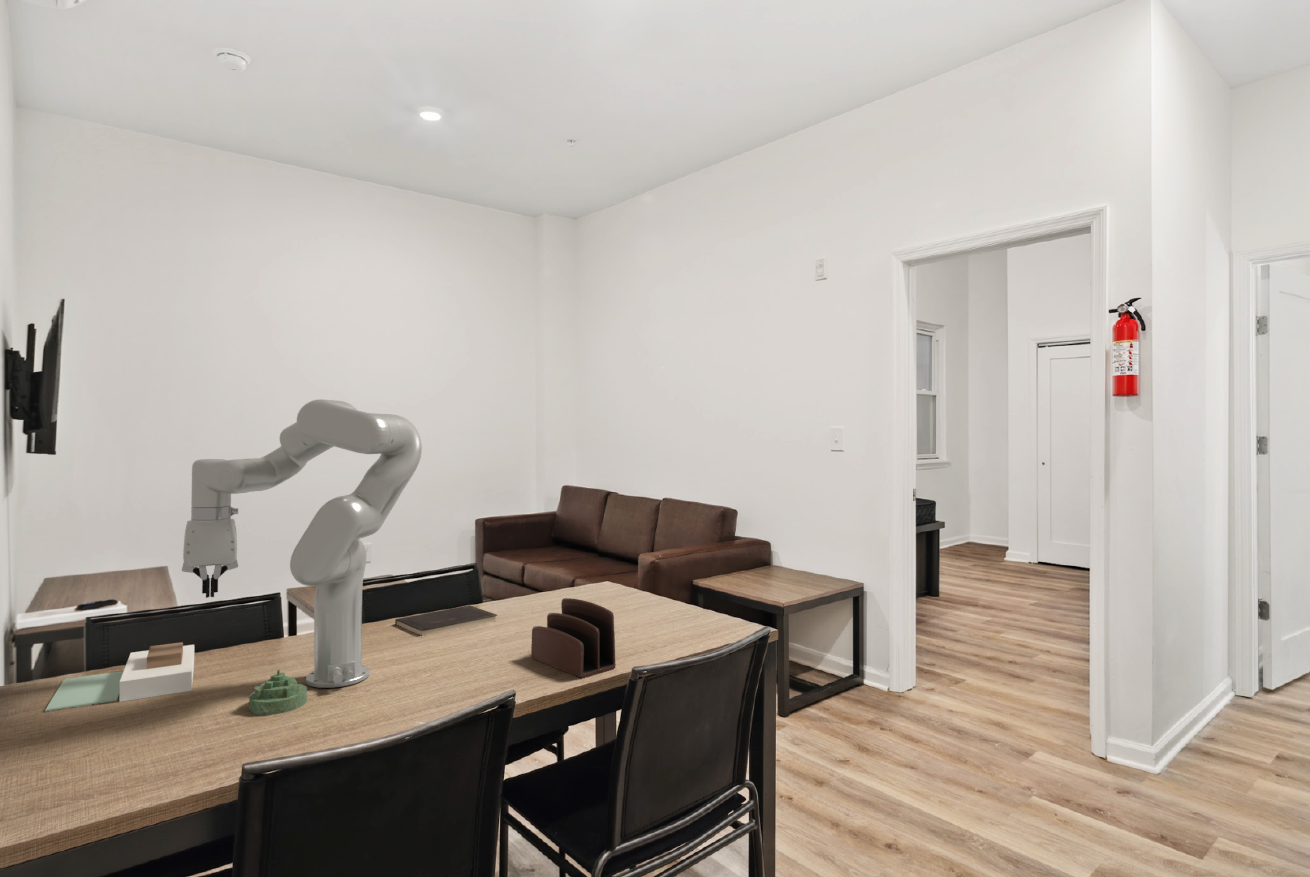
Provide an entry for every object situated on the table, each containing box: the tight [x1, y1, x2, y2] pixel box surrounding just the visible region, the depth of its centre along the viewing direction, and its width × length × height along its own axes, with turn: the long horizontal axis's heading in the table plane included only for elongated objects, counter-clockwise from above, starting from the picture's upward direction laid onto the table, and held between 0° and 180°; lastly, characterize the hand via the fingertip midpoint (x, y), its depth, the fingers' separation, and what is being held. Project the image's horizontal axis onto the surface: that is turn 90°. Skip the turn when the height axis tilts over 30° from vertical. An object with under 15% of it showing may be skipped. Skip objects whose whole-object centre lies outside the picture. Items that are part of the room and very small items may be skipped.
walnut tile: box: [147, 641, 184, 669], centre depth 154 cm, size 9×6×2 cm, turn 32°
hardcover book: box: [394, 605, 498, 637], centre depth 201 cm, size 16×23×2 cm
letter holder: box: [530, 597, 617, 679], centre depth 166 cm, size 10×20×14 cm, turn 44°
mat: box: [44, 670, 124, 713], centre depth 147 cm, size 20×11×1 cm, turn 32°
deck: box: [119, 644, 195, 703], centre depth 153 cm, size 22×12×4 cm, turn 32°
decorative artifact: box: [248, 669, 308, 716], centre depth 140 cm, size 10×7×10 cm
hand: (210, 596), depth 158 cm, fingers closed
